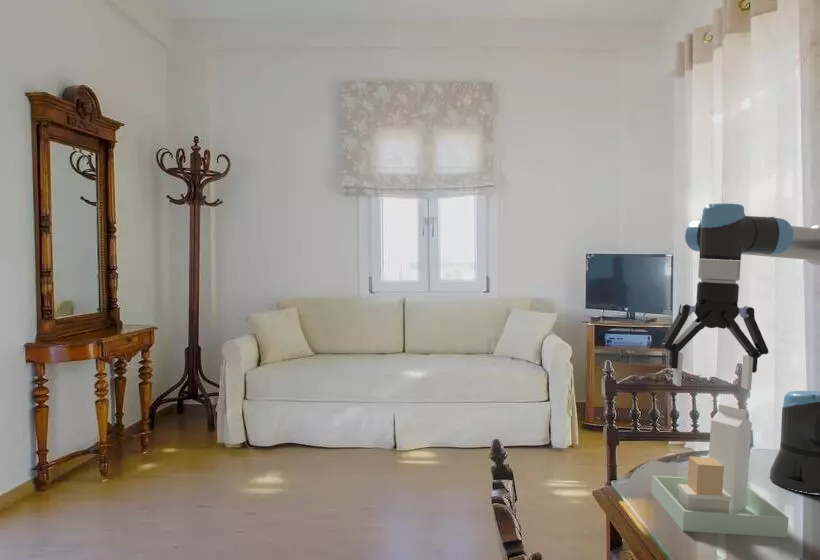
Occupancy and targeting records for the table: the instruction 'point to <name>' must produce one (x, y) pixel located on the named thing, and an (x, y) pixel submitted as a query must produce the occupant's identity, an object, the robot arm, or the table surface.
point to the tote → (749, 521)
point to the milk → (732, 452)
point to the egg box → (703, 500)
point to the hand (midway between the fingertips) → (711, 386)
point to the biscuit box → (705, 475)
